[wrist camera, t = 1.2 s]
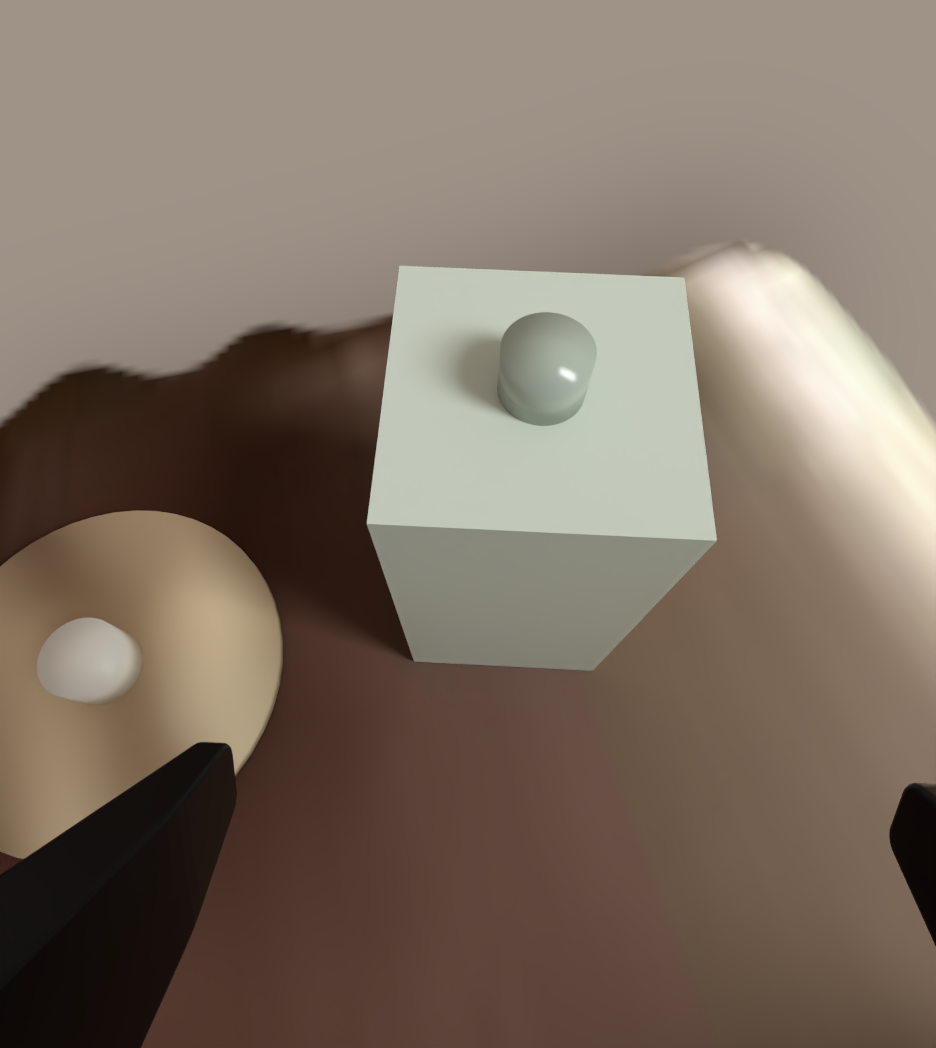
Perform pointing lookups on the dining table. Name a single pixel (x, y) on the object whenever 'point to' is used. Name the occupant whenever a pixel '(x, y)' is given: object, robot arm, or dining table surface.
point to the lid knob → (89, 662)
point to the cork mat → (167, 672)
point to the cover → (536, 462)
